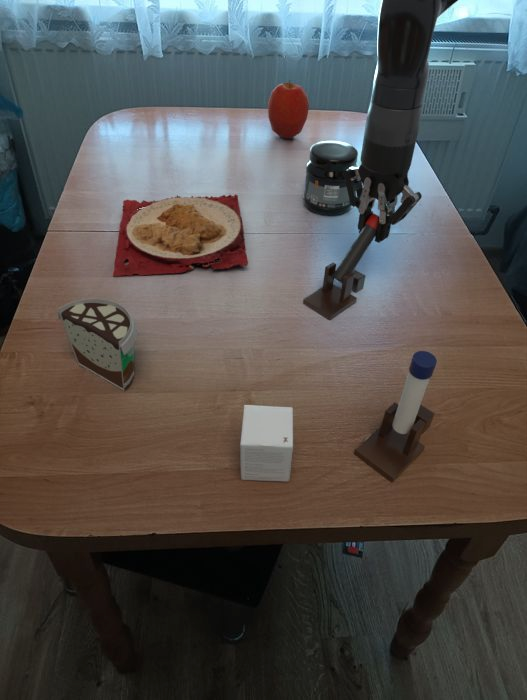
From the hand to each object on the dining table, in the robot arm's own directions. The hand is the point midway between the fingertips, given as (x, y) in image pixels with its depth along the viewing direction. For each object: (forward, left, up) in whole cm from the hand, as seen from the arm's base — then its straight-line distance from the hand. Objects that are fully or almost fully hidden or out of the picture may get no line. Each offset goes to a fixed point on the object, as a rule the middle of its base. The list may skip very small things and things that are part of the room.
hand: (371, 236), depth 90 cm
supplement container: (-16, -22, -9) cm, 29 cm away
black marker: (+3, 0, -2) cm, 3 cm away
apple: (-36, -52, -3) cm, 63 cm away
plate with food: (+15, -33, -9) cm, 37 cm away
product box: (+40, +15, -9) cm, 44 cm away
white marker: (+25, +25, +1) cm, 35 cm away
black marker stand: (+8, 0, -9) cm, 12 cm away
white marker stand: (+26, +25, -9) cm, 37 cm away
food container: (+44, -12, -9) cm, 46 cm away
